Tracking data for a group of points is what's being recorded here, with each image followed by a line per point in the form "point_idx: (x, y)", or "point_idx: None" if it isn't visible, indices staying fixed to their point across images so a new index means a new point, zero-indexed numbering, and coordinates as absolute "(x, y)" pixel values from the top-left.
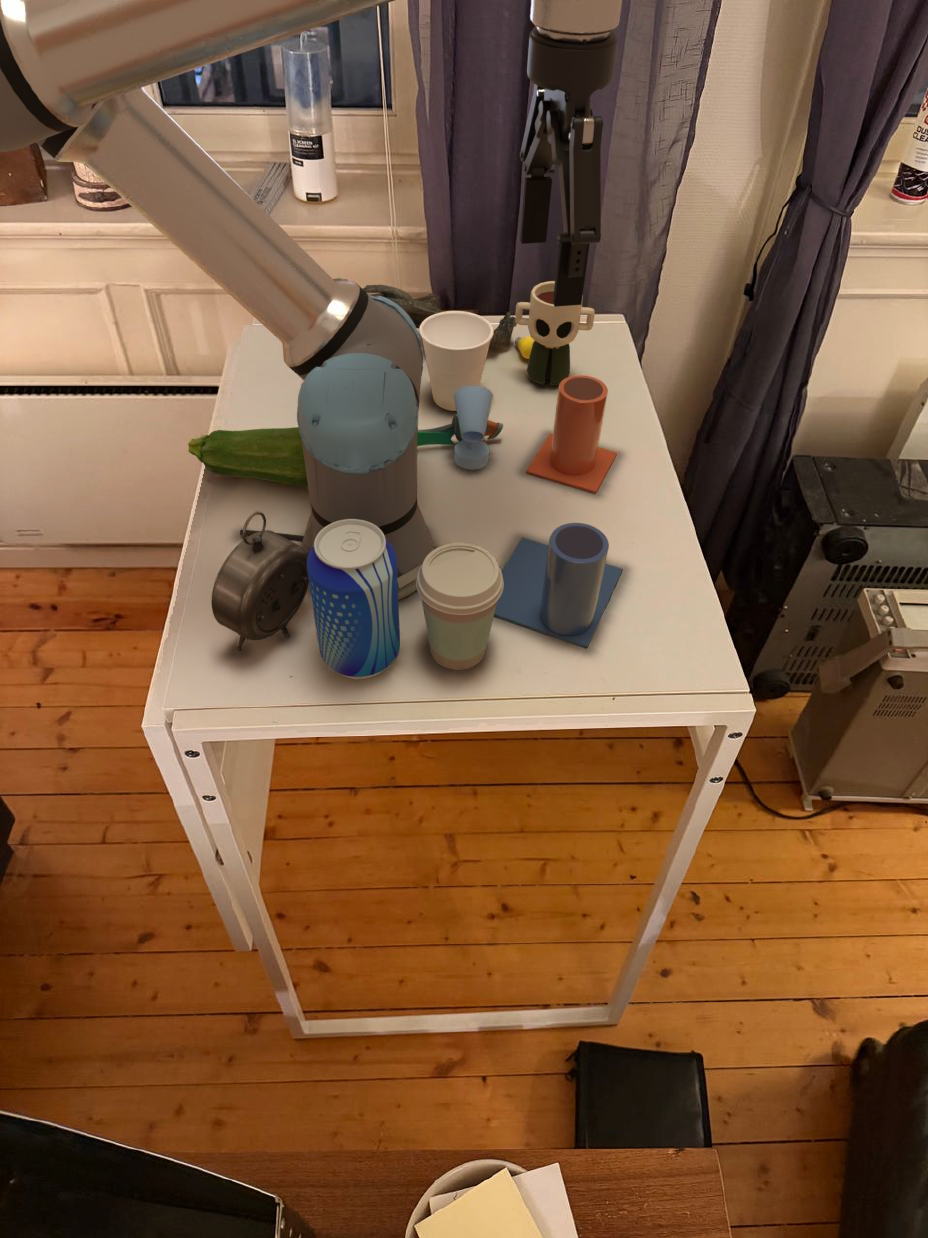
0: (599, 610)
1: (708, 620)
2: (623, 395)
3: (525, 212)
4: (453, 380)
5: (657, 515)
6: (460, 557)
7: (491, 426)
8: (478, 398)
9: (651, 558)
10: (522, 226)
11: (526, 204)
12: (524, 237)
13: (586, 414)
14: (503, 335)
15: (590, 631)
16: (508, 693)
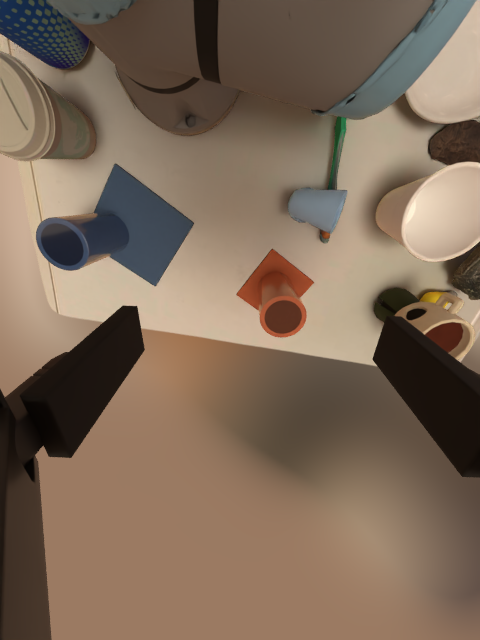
0: (115, 257)
1: None
2: (343, 349)
3: (426, 354)
4: (392, 203)
5: (207, 325)
6: (21, 111)
7: (324, 231)
8: (320, 214)
9: (167, 307)
10: (410, 332)
11: (440, 368)
12: (391, 326)
13: (259, 309)
14: (462, 282)
15: None
16: (36, 167)
